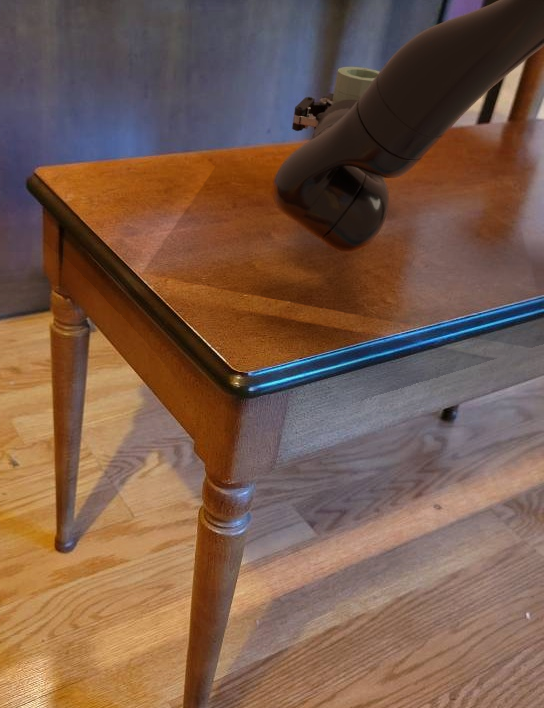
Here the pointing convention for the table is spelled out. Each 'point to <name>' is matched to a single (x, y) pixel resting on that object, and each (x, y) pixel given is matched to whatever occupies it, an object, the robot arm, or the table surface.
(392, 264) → the table surface
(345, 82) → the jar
